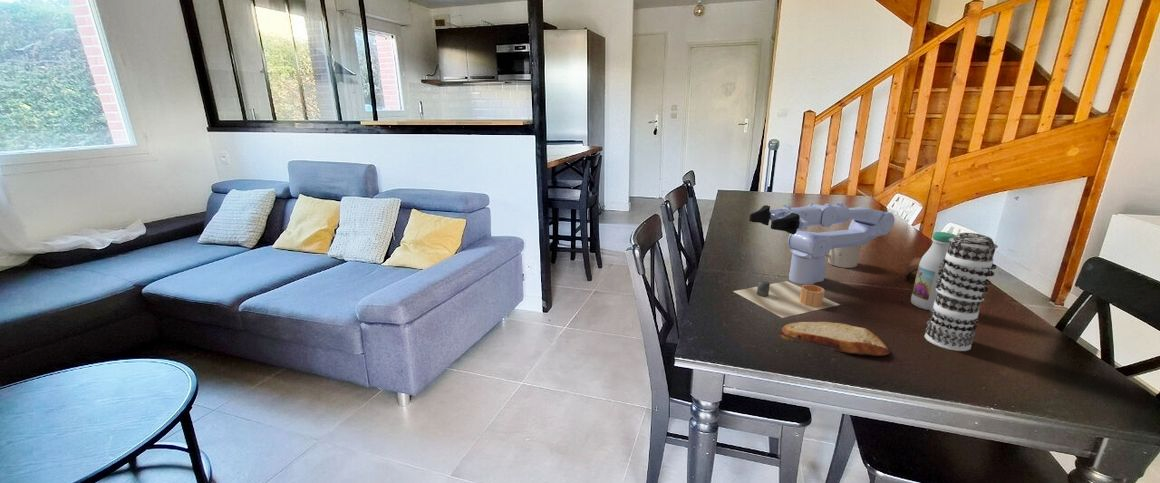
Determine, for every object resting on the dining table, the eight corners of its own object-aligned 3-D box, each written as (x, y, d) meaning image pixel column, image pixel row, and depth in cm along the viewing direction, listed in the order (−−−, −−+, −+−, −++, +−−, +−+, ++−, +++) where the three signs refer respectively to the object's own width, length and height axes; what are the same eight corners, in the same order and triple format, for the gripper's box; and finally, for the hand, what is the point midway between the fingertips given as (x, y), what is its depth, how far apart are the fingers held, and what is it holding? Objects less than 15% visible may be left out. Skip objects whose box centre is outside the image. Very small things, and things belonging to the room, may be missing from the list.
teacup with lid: (850, 260, 157) (856, 227, 154) (862, 269, 149) (869, 234, 145) (813, 258, 159) (818, 226, 155) (824, 267, 150) (829, 233, 147)
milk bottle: (941, 302, 124) (959, 231, 118) (949, 314, 117) (968, 239, 111) (907, 298, 127) (923, 228, 121) (913, 308, 120) (930, 235, 114)
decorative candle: (977, 356, 98) (1009, 244, 91) (923, 344, 102) (950, 237, 95) (970, 338, 105) (999, 233, 98) (920, 328, 110) (945, 227, 103)
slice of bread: (772, 333, 108) (774, 319, 107) (826, 319, 115) (828, 306, 114) (839, 372, 93) (843, 356, 92) (898, 354, 99) (901, 338, 98)
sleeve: (809, 297, 125) (812, 283, 124) (826, 304, 120) (829, 290, 119) (795, 300, 123) (797, 286, 122) (811, 308, 118) (814, 293, 117)
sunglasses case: (940, 287, 134) (930, 266, 134) (912, 293, 138) (903, 273, 139) (941, 270, 148) (931, 251, 148) (915, 276, 152) (906, 258, 152)
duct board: (786, 284, 137) (788, 270, 135) (839, 308, 121) (842, 292, 119) (732, 294, 129) (734, 279, 128) (781, 321, 113) (784, 304, 112)
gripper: (779, 198, 134) (743, 201, 129) (822, 209, 122) (784, 213, 116) (775, 221, 136) (740, 225, 131) (817, 235, 124) (780, 239, 118)
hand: (760, 221), depth 124 cm, fingers open, 7 cm apart
